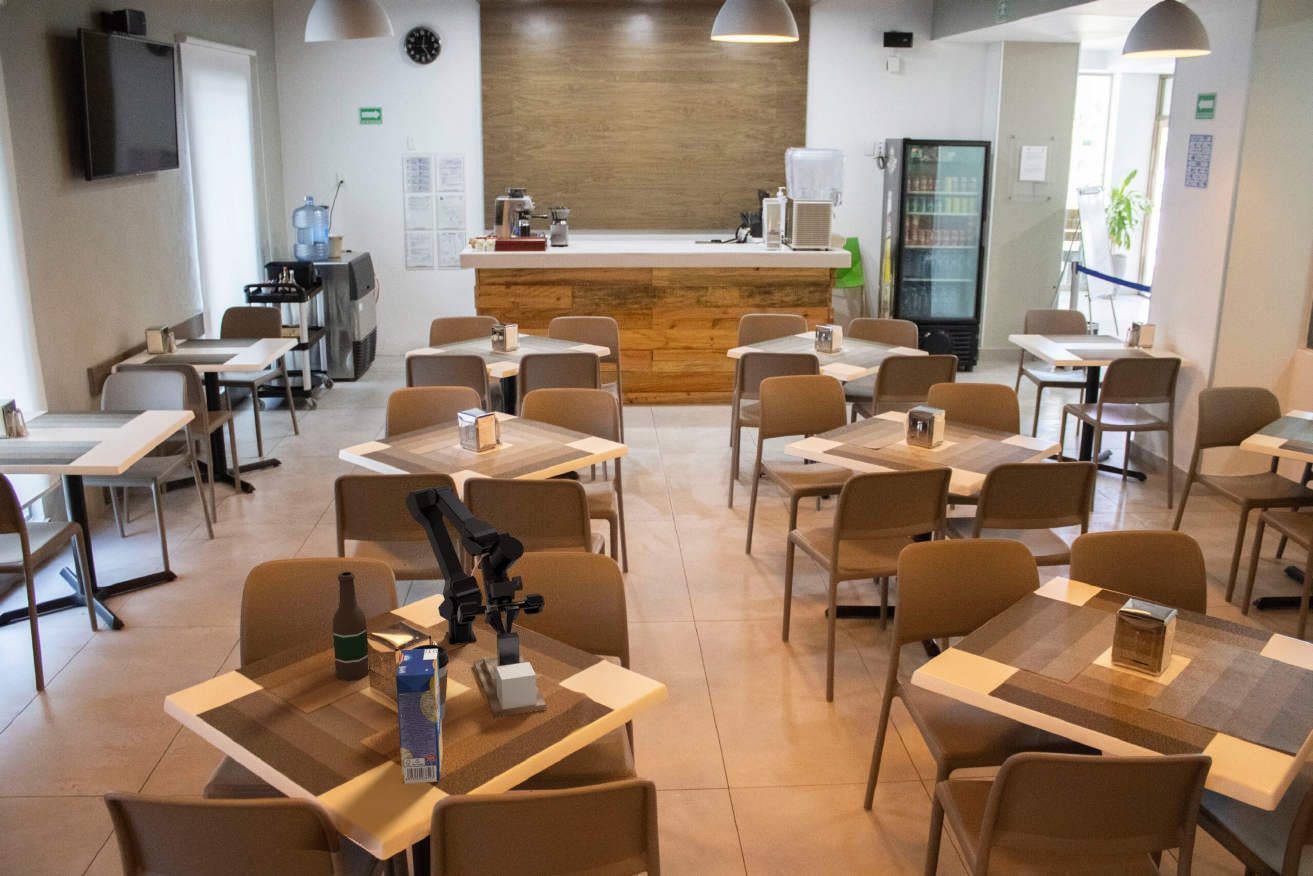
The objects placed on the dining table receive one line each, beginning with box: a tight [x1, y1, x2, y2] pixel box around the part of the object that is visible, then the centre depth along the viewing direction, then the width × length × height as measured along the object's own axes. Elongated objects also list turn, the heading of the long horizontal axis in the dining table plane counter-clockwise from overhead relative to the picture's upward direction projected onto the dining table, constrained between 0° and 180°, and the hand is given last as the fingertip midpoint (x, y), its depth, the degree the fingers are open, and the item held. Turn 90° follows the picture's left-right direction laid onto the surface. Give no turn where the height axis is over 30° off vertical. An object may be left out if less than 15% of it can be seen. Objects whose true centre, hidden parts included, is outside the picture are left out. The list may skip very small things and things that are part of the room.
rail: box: [473, 653, 547, 718], centre depth 243 cm, size 25×11×3 cm, turn 19°
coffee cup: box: [411, 644, 450, 721], centre depth 229 cm, size 8×8×15 cm
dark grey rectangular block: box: [496, 631, 520, 666], centre depth 238 cm, size 10×4×11 cm, turn 19°
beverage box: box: [395, 648, 444, 785], centre depth 209 cm, size 7×11×22 cm, turn 7°
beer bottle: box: [332, 571, 370, 682], centre depth 246 cm, size 8×8×24 cm
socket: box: [496, 661, 537, 709], centre depth 235 cm, size 6×7×7 cm
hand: (507, 644), depth 242 cm, fingers closed
